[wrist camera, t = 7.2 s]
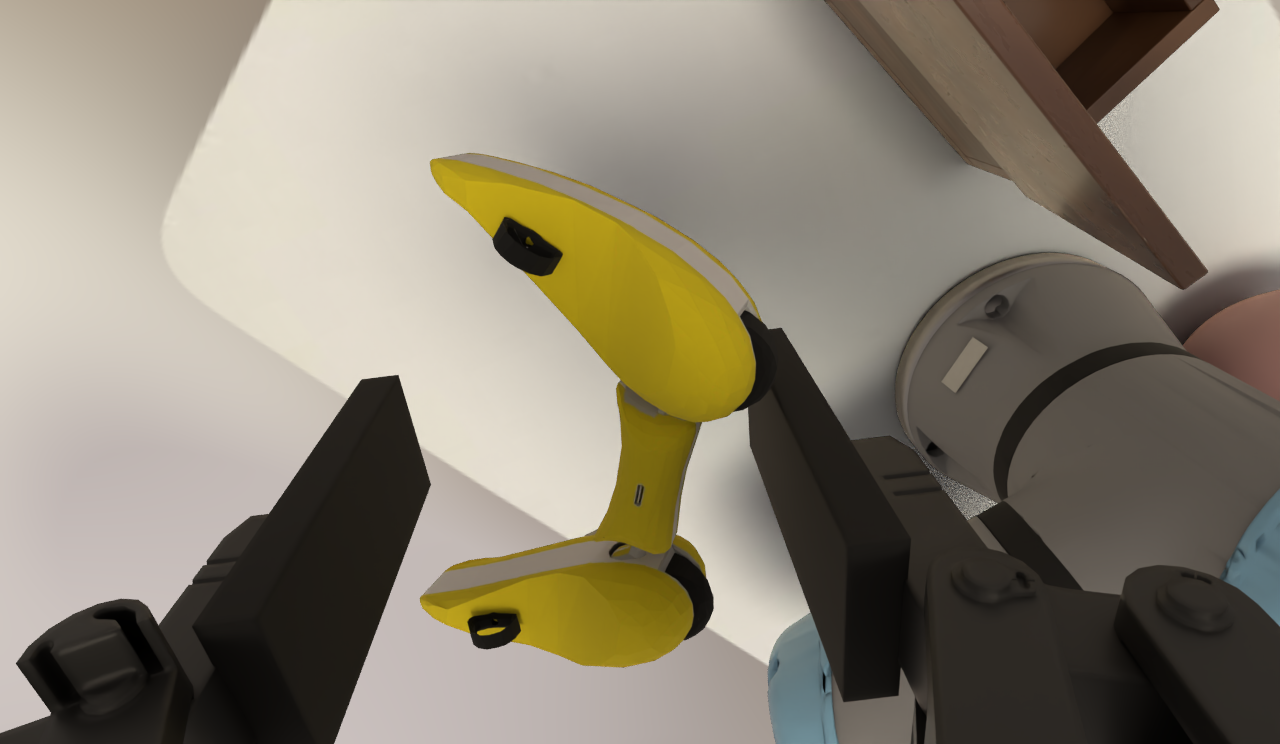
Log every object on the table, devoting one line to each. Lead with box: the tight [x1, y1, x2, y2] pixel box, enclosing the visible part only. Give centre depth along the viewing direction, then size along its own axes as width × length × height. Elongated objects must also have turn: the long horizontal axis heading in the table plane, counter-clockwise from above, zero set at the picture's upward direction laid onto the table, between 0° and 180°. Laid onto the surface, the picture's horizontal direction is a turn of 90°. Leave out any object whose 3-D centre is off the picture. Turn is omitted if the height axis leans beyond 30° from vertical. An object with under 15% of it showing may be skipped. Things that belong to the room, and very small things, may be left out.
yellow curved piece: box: [420, 153, 778, 667], centre depth 14 cm, size 10×6×4 cm, turn 171°
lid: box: [859, 0, 1208, 290], centre depth 25 cm, size 11×14×1 cm
